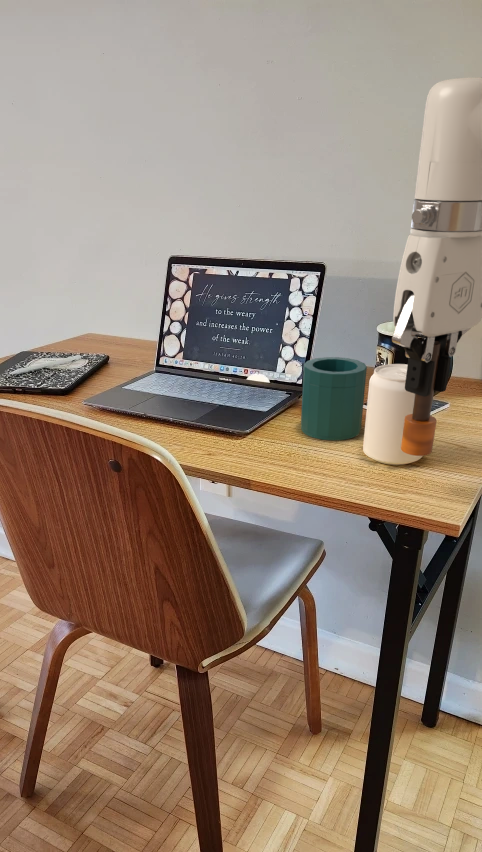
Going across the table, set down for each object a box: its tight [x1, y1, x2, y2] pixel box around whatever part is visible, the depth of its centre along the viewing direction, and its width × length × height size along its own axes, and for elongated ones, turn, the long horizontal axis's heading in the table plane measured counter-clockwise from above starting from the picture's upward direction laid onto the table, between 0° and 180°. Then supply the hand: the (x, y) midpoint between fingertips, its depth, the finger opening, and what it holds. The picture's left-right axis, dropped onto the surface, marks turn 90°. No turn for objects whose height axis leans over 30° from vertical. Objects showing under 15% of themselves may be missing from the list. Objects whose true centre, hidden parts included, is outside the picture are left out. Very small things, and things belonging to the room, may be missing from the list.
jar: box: [300, 356, 368, 441], centre depth 102 cm, size 9×9×10 cm
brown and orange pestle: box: [401, 341, 441, 457], centre depth 79 cm, size 4×4×13 cm
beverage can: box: [362, 363, 423, 466], centre depth 93 cm, size 8×8×12 cm
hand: (425, 389), depth 79 cm, fingers closed on brown and orange pestle, 2 cm apart
